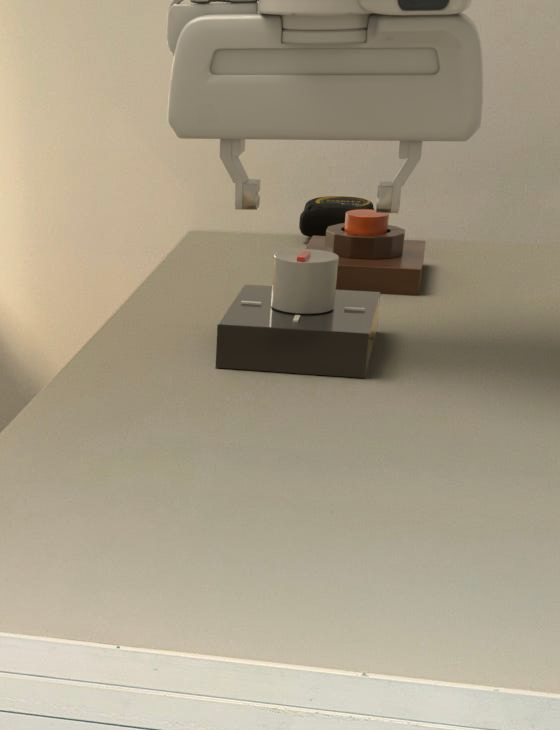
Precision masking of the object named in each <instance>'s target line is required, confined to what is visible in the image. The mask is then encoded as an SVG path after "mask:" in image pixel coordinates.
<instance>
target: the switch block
mask: <svg viewBox="0 0 560 730" xmlns="http://www.w3.org/2000/svg"><path fill="white" fill-rule="evenodd" d="M344 227H345V223H341V224H336V225H332V226H328V228H327V230H326V236H312V237H310V239H309V241H308V243H307V245H306V246H305V248H304V249H314V250H323V251H328V252H332V253H335V254H337V255H338V256H339V263H338V274H337V285H336V290H352V291H369V292H380V295H393V296H395V295H396V296H411V297H418V296H419V292H420V288H421V287H420V285H421V281H422V280H421V279H422V273H423V269H424V268H423V267H424V260H425V259H424V258H425V251H426V244H427V242H426V240H415V239H405V236H406V229H405V228H401V227H400V226H397V225H392V224H388V229H387V233H385V234H374V235H365V234H353V233H347V232H344Z"/></svg>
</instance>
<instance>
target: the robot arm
mask: <svg viewBox="0 0 560 730" xmlns="http://www.w3.org/2000/svg"><path fill="white" fill-rule="evenodd" d="M183 1H184V0H173V1H172V2H171V3H170V6H169V8H168V10H167V14H166V44H167V47H168V50H169V52H170V54H171V55H172V57H173V60H172V65H171V72H170V80H169V88H168V89H169V90H168V100H167V125H168V127H169V128H170V129H171V131H172V132H173V133H174V135H175V136H176V138H178V139H182V140H184V139H185V140H219V158H220V160H221V162H222V164H223V166H224V167H225V170H226V172H227V174H228V175H229V177H230V179H231V181H232V183H233V184H235V185H234V186H235V187H234V188H235V189H234V209H235V210H238V211H245V210H246V211H257V210H258V209H259V207H260V203H261V196H260V194H259V192H260V190H261V179H257V178H256V179H255V178H254V179H253V178H249V175H248V174H247V172H246V169H245V168H244V165H243V164H242V162H241V159H240V156H241V155H242V154H243V153H244V152H246V140H265V141H266V140H267V141H268V140H270V141H271V140H278V141H280V140H284V141H288V140H289V141H298V140H299V141H367V142H369V141H370V142H371V141H375V142H376V141H380V142H382V141H383V142H385V141H386V142H388V141H389V142H392V141H393V142H399V147H398V158H399V159H400V160H404V162H403V164H402V165H401V166H400V168H399V170H398V171H397V173H396V174H395V176H394V177H393V179H392V180H391V181H379V182H378V185H377V195H376V196H377V198H378V199H377V202H376V208H375V210H376V213H389V214H399V212H400V207H401V200H402V199H401V197H402V187H403V186H404V185H405V184H406V182H407V180H408V179H409V178H410V175H411V174H412V173H413V171H414V170H415V168H416V167H417V165H418V164H419V162H420V160H421V158H422V152H423V142H466V141H469V140H470V139H471V138H472V137H473V136H474V135H475V134H476V133H477V132H478V131H479V129H480V128H481V125H482V117H483V116H482V115H483V99H484V67H483V66H484V65H483V48H482V41H481V37H480V36H481V35H480V33H479V30H478V28H477V25H476V23H475V22H474V20H473V19H472V18H471V17H470V16H468V15H467V14H466V13H464V12H465V11H467V10H468V9H469V8H470V7H471V5H472V3H473V1H474V0H189V2H190V3H182V2H183Z"/></svg>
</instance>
